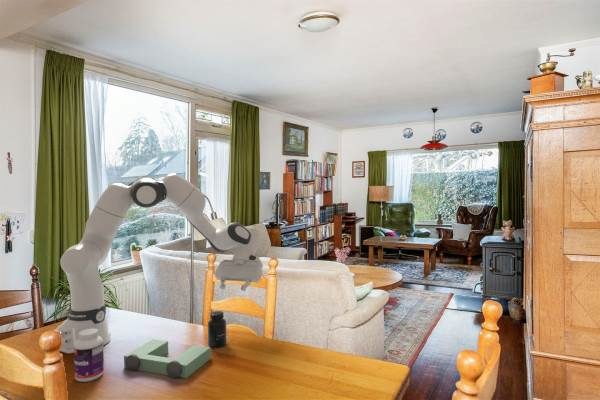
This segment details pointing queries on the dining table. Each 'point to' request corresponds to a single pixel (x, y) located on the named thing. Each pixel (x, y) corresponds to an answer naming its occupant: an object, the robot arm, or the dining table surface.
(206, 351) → the green u-shaped block
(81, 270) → the robot arm
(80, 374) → the pill bottle
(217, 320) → the supplement bottle
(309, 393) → the dining table surface
